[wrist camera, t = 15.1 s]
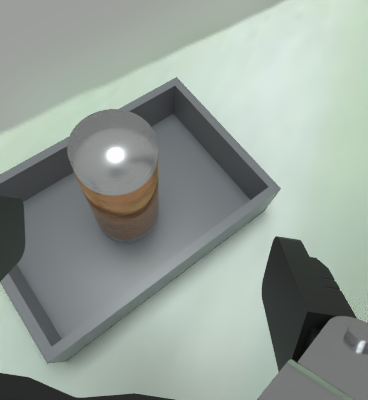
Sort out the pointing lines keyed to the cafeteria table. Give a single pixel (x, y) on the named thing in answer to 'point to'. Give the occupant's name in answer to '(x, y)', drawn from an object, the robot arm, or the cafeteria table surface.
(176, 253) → the gray tray
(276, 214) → the cafeteria table surface
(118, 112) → the tin can
